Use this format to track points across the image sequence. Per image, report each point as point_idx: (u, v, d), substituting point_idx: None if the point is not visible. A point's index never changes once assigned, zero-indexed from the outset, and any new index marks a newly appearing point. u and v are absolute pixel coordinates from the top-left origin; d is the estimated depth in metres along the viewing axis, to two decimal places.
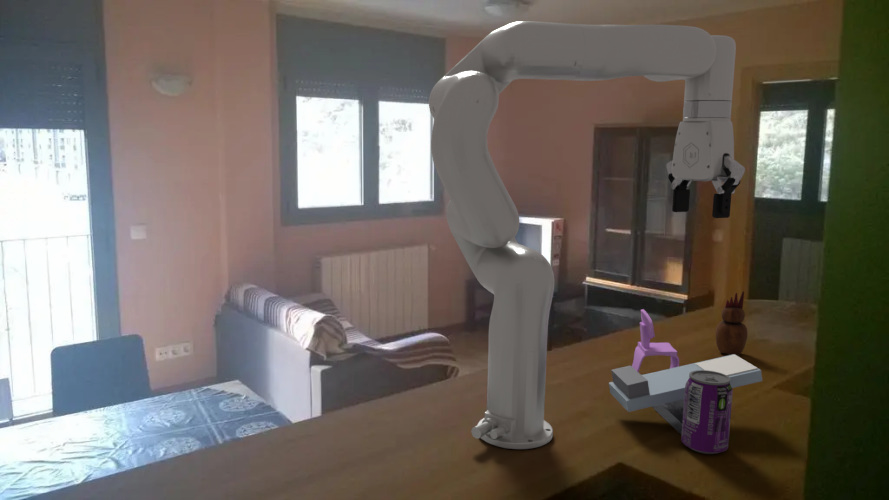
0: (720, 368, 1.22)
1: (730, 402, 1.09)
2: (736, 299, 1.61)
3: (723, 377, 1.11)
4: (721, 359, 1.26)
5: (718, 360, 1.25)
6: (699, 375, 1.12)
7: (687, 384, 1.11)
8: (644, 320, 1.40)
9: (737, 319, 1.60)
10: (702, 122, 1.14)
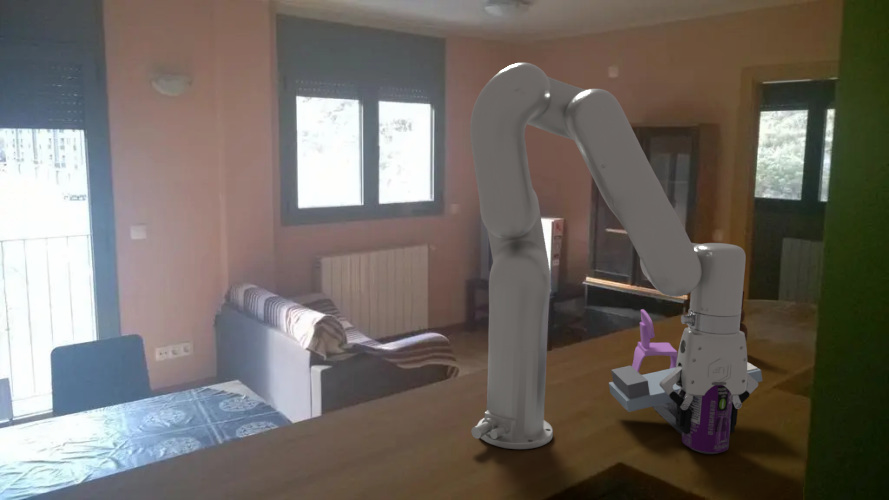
0: None
1: (731, 402, 1.09)
2: None
3: None
4: None
5: None
6: None
7: None
8: (644, 320, 1.40)
9: None
10: (733, 336, 1.07)
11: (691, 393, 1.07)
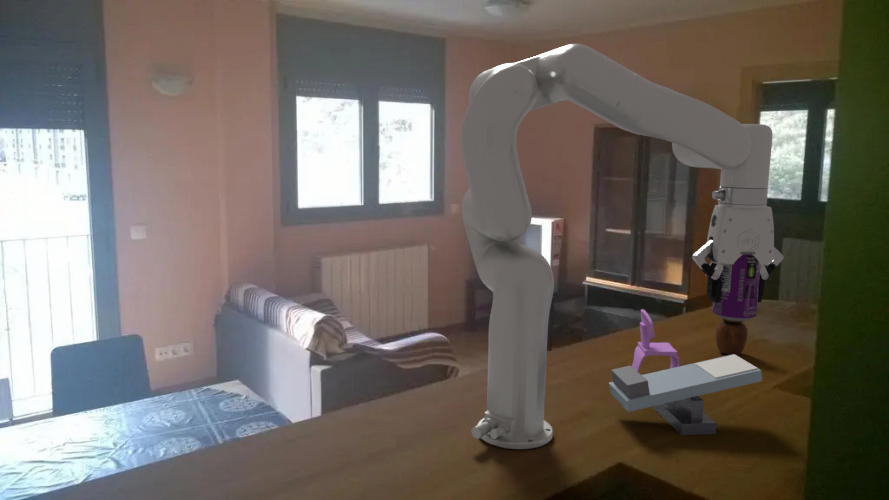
0: (720, 368, 1.22)
1: (758, 271, 1.17)
2: None
3: None
4: (721, 359, 1.26)
5: (718, 360, 1.25)
6: None
7: None
8: (644, 320, 1.40)
9: None
10: (760, 209, 1.16)
11: (722, 262, 1.16)
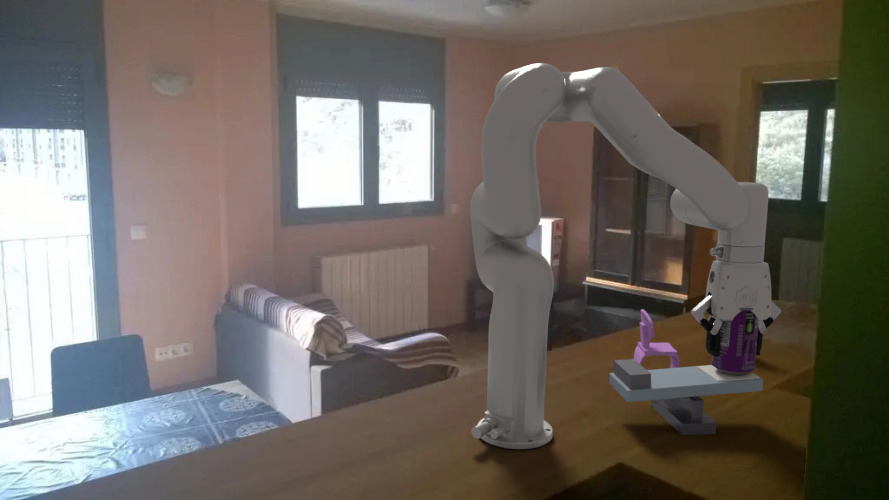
0: (722, 373, 1.22)
1: (757, 326, 1.19)
2: None
3: None
4: None
5: None
6: None
7: None
8: (644, 320, 1.40)
9: None
10: (758, 266, 1.18)
11: (720, 318, 1.18)
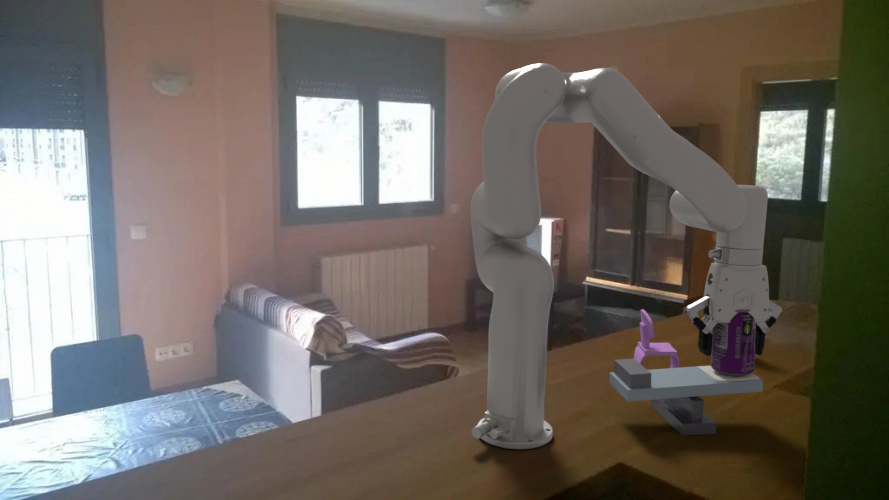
0: None
1: (754, 328, 1.19)
2: None
3: None
4: None
5: None
6: None
7: None
8: (644, 320, 1.40)
9: None
10: (756, 268, 1.18)
11: (718, 320, 1.18)
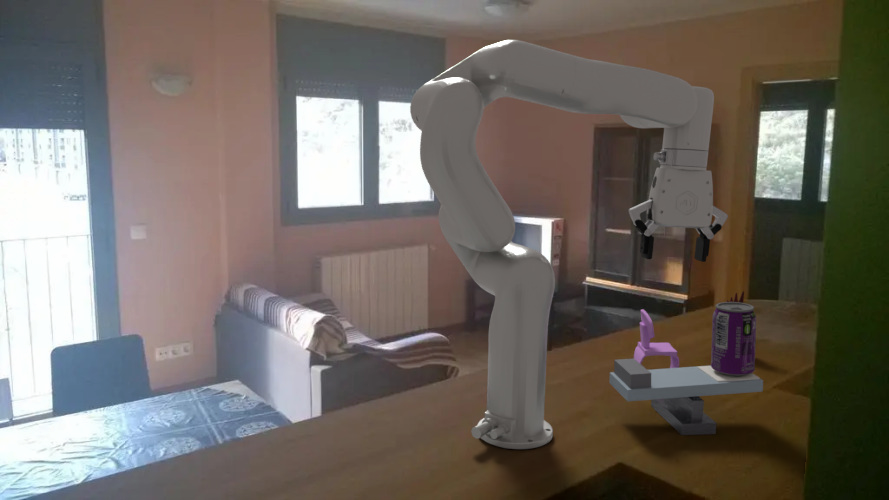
0: None
1: (754, 328, 1.19)
2: (736, 299, 1.61)
3: (747, 306, 1.21)
4: None
5: None
6: (724, 306, 1.22)
7: (714, 314, 1.21)
8: (644, 320, 1.40)
9: None
10: (700, 171, 1.17)
11: (660, 222, 1.17)
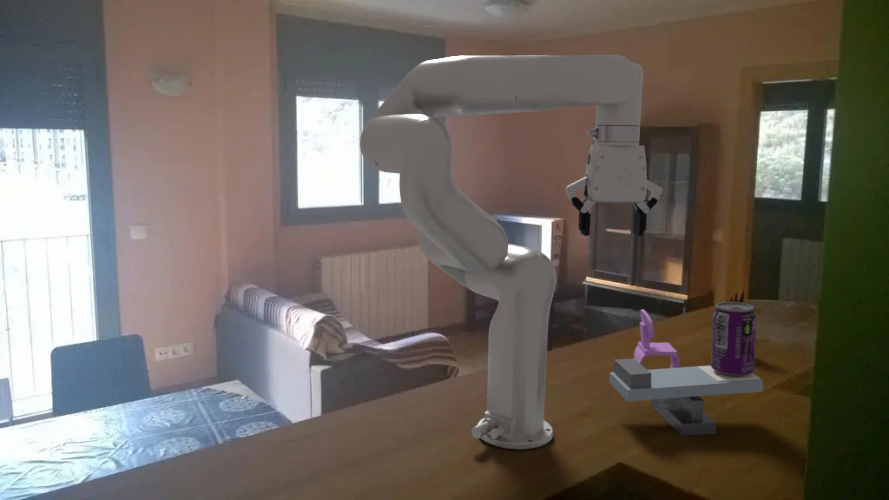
0: None
1: (754, 328, 1.19)
2: (736, 299, 1.61)
3: (747, 306, 1.21)
4: None
5: None
6: (724, 306, 1.22)
7: (714, 314, 1.21)
8: (644, 320, 1.40)
9: None
10: (632, 146, 1.18)
11: (595, 199, 1.19)
